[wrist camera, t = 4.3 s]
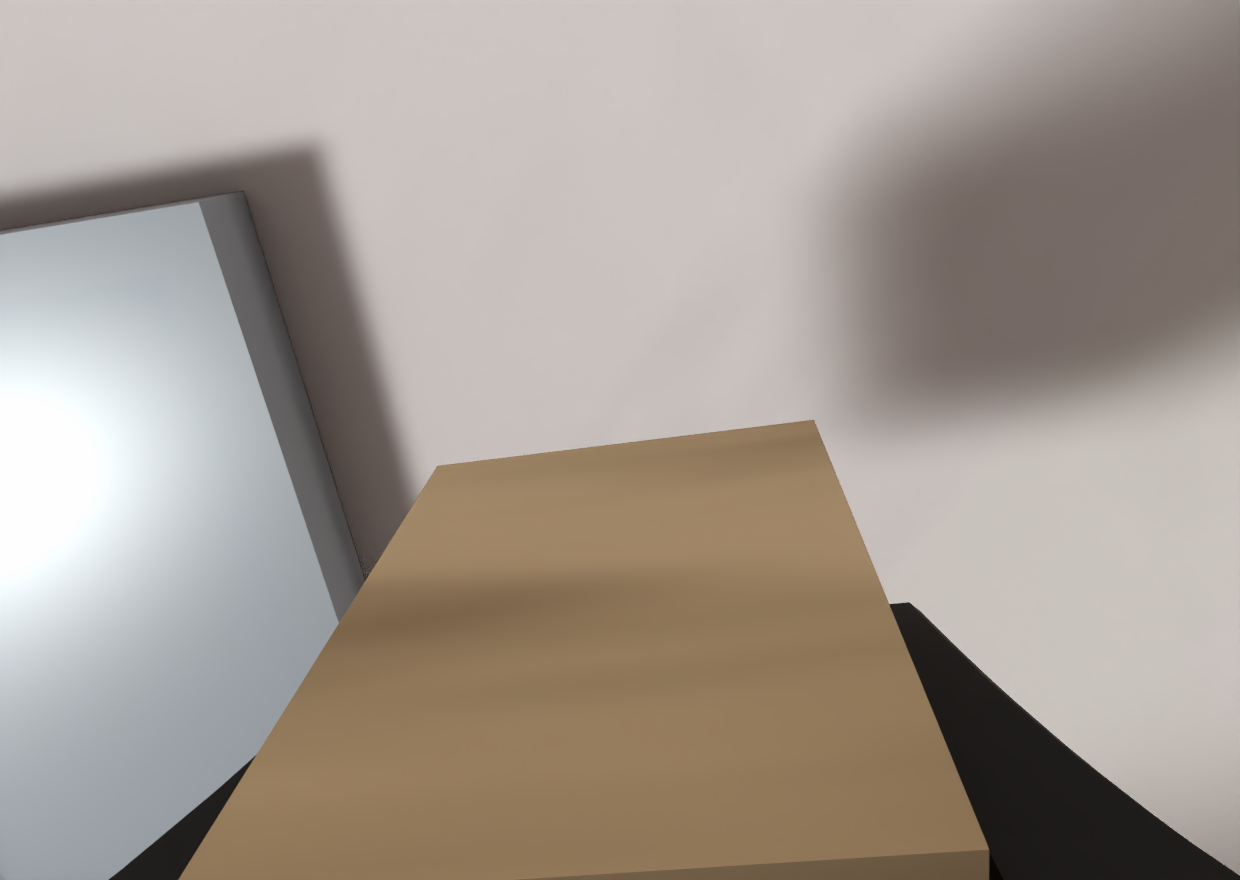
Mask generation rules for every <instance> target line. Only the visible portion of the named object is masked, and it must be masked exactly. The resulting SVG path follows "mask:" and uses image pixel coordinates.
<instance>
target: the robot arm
mask: <svg viewBox="0 0 1240 880" xmlns="http://www.w3.org/2000/svg"><path fill="white" fill-rule="evenodd" d="M889 605H890V608H891V610H892V613H893V615H894V617H895V620H896V622H897V625H898V627H899V630H900V632H901V635H902V637H903V640H904V642H905V644H906V647H907V649H908V652H909V654H910V657H911V659H912V662H913V664H914V666H915V669H916V671H917V674H918V676H919V679H920V681H921V684H922V686H923V688H924V691H925V693H926V696H927V698H928V701H929V703H930V706H931V708H932V711H933V713H934V715H935V718H936V720H937V723H938V725H939V728H940V730H941V733H942V735H943V737H944V740H945V742H946V745H947V747H948V750H949V752H950V755H951V757H952V759H953V762H954V764H955V767H956V769H957V772H958V774H959V777H960V779H961V782H962V784H963V786H964V789H965V791H966V794H967V796H968V799H969V801H970V804H971V806H972V808H973V811H974V813H975V816H976V818H977V821H978V823H979V826H980V828H981V831H982V833H983V835H984V838H985V840H986V843H987V845H988V848H989V880H1240V876H1239V875H1238V874H1236V873H1235V872H1233V871H1232V870H1230V869H1229V868H1228V867H1226V866H1225V865H1223V864H1222V863H1220V862H1219V861H1217V860H1216V859H1214V858H1213V857H1211V856H1210V855H1208V854H1207V853H1205V852H1204V851H1202V850H1201V849H1200V848H1198V847H1197V846H1195V845H1194V844H1192V843H1191V842H1189V841H1188V840H1187V839H1185V838H1184V837H1183V836H1181V835H1180V834H1178V833H1177V832H1176V831H1174V830H1173V829H1172V828H1170V827H1169V826H1168V825H1166V824H1165V823H1164V822H1162V821H1161V820H1160V819H1158V818H1157V817H1156V816H1154V815H1153V814H1152V813H1150V812H1149V811H1148V810H1146V809H1145V808H1144V807H1142V806H1141V805H1140V804H1139V803H1137V802H1136V801H1135V800H1133V799H1132V798H1131V797H1130V796H1128V795H1127V794H1126V793H1124V792H1123V791H1122V790H1121V789H1119V788H1118V787H1117V786H1116V785H1114V784H1113V783H1112V782H1110V781H1109V780H1108V779H1107V778H1105V777H1104V776H1103V775H1101V774H1100V773H1099V772H1098V771H1096V770H1095V769H1094V768H1093V767H1091V766H1090V765H1089V764H1088V763H1087V762H1085V761H1084V760H1083V759H1082V758H1081V757H1079V756H1078V755H1077V754H1076V753H1074V752H1073V751H1072V750H1071V749H1070V748H1068V747H1067V746H1066V745H1065V744H1064V743H1062V742H1061V741H1060V740H1059V739H1058V738H1057V737H1055V736H1054V735H1053V734H1052V733H1051V732H1050V731H1049V730H1047V729H1046V728H1045V727H1044V726H1043V725H1042V724H1040V723H1039V722H1038V721H1037V720H1036V719H1035V718H1033V717H1032V716H1031V715H1030V714H1029V713H1028V712H1027V711H1025V710H1024V709H1023V708H1022V707H1021V706H1020V705H1018V704H1017V703H1016V702H1015V701H1014V700H1013V699H1012V698H1011V697H1009V696H1008V695H1007V694H1006V693H1005V692H1004V691H1003V690H1002V689H1001V688H999V687H998V686H997V685H996V684H995V683H994V682H993V681H992V680H991V679H990V678H989V677H988V676H986V675H985V674H984V673H983V672H982V671H981V670H980V669H979V668H978V667H977V666H976V665H975V664H974V663H973V662H972V661H971V660H969V659H968V658H967V657H966V656H965V655H964V654H963V653H962V652H961V651H960V650H959V649H958V648H957V647H956V646H955V645H954V644H953V643H952V642H951V641H950V640H949V639H948V638H947V637H946V636H945V635H944V634H943V633H942V632H941V631H940V630H939V629H938V628H937V627H936V626H935V625H934V624H932V623H931V622H930V621H929V620H928V619H927V618H926V617H925V616H924V615H923V614H922V613H921V612H920V611H919V610H918V609H917V608H915V607H914V606H913V605H912V604H910V603H909V602H908V603H898V604H889ZM255 757H256V755H255V756H254V757H253V758H252V759H251V760H250V761H249V762H248V763H247V764H245V765H244V766H243V767H242V768H241V769H240V770H239V771H238V772H236V773H235V774H234V775H233V776H232V777H231V778H230V779H229V780H228V781H226V782H225V783H224V784H223V785H222V786H221V787H220V788H218V789H217V790H216V791H215V792H214V793H213V794H211V795H210V796H209V797H208V798H207V799H205V800H204V801H203V802H202V803H201V804H199V805H198V806H197V807H196V808H195V809H193V810H192V811H191V812H190V813H189V814H187V815H186V816H185V817H184V818H183V819H181V820H180V821H179V822H178V823H177V824H175V825H174V826H173V827H172V828H171V829H169V830H168V831H167V832H166V833H165V834H163V835H162V836H161V837H160V838H159V839H157V840H156V841H155V842H154V843H153V844H151V845H150V846H149V847H148V848H147V849H145V850H144V851H143V852H142V853H141V854H139V855H138V856H137V857H136V858H135V859H133V860H132V861H131V862H130V863H129V864H127V865H126V866H125V867H124V868H123V869H121V870H120V871H119V872H118V873H116V874H115V875H114V876H112V877H111V878H110V879H109V880H178V879H179V878H180V876H181V875H182V873H183V871H184V870H185V868H186V867H187V865H188V864H189V862H190V860H191V859H192V857H193V856H194V854H195V852H196V851H197V849H198V848H199V846H200V844H201V843H202V841H203V840H204V838H205V836H206V835H207V833H208V832H209V830H210V828H211V827H212V825H213V824H214V822H215V820H216V819H217V817H218V816H219V814H220V812H221V811H222V809H223V808H224V806H225V804H226V803H227V801H228V800H229V798H230V796H231V795H232V793H233V792H234V790H235V788H236V787H237V785H238V784H239V782H240V780H241V779H242V777H243V776H244V774H245V772H246V771H247V769H248V768H249V766H250V764H251V763H252V761H253V760H254V758H255Z"/></svg>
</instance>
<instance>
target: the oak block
mask: <svg viewBox="0 0 1240 880" xmlns="http://www.w3.org/2000/svg"><path fill="white" fill-rule="evenodd" d="M178 880H989V848H988V845H987V843H986V840H985V838H984V835H983V833H982V831H981V828H980V826H979V823H978V821H977V818H976V816H975V813H974V811H973V808H972V806H971V804H970V801H969V799H968V796H967V794H966V791H965V789H964V786H963V784H962V782H961V779H960V777H959V774H958V772H957V769H956V767H955V764H954V762H953V759H952V757H951V755H950V752H949V750H948V747H947V745H946V742H945V740H944V737H943V735H942V733H941V730H940V728H939V725H938V723H937V720H936V718H935V715H934V713H933V711H932V708H931V706H930V703H929V701H928V698H927V696H926V693H925V691H924V688H923V686H922V684H921V681H920V679H919V676H918V674H917V671H916V669H915V666H914V664H913V662H912V659H911V657H910V654H909V652H908V649H907V647H906V644H905V642H904V640H903V637H902V635H901V632H900V630H899V627H898V625H897V622H896V620H895V617H894V615H893V613H892V610H891V608H890V605H889V603H888V600H887V598H886V595H885V593H884V591H883V588H882V586H881V583H880V581H879V578H878V576H877V573H876V571H875V568H874V566H873V564H872V561H871V559H870V556H869V554H868V551H867V549H866V546H865V544H864V542H863V539H862V537H861V534H860V532H859V529H858V527H857V524H856V522H855V520H854V517H853V515H852V512H851V510H850V507H849V505H848V502H847V500H846V497H845V495H844V493H843V490H842V488H841V485H840V483H839V480H838V478H837V475H836V473H835V471H834V468H833V466H832V463H831V461H830V458H829V456H828V453H827V451H826V449H825V446H824V444H823V441H822V439H821V436H820V434H819V431H818V429H817V426H816V424H815V422H814V420H809V421H801V422H793V423H785V424H777V425H768V426H760V427H752V428H744V429H736V430H728V431H719V432H711V433H703V434H695V435H687V436H678V437H670V438H662V439H654V440H646V441H638V442H629V443H621V444H613V445H605V446H597V447H588V448H580V449H572V450H564V451H556V452H548V453H539V454H531V455H523V456H515V457H507V458H498V459H490V460H482V461H474V462H466V463H458V464H449V465H441V466H437V467H436V469H435V471H434V472H433V474H432V475H431V477H430V479H429V480H428V482H427V483H426V485H425V487H424V488H423V490H422V491H421V493H420V495H419V496H418V498H417V499H416V501H415V503H414V504H413V506H412V507H411V509H410V511H409V512H408V514H407V515H406V517H405V519H404V520H403V522H402V523H401V525H400V527H399V528H398V530H397V531H396V533H395V535H394V536H393V538H392V539H391V541H390V542H389V544H388V546H387V547H386V549H385V550H384V552H383V554H382V555H381V557H380V558H379V560H378V562H377V563H376V565H375V566H374V568H373V570H372V571H371V573H370V574H369V576H368V578H367V579H366V581H365V582H364V584H363V586H362V587H361V589H360V590H359V592H358V594H357V595H356V597H355V598H354V600H353V602H352V603H351V605H350V606H349V608H348V610H347V611H346V613H345V614H344V616H343V618H342V619H341V621H340V622H339V624H338V626H337V627H336V629H335V630H334V632H333V634H332V635H331V637H330V638H329V640H328V642H327V643H326V645H325V646H324V648H323V649H322V651H321V653H320V654H319V656H318V657H317V659H316V661H315V662H314V664H313V665H312V667H311V669H310V670H309V672H308V673H307V675H306V677H305V678H304V680H303V681H302V683H301V685H300V686H299V688H298V689H297V691H296V693H295V694H294V696H293V697H292V699H291V701H290V702H289V704H288V705H287V707H286V709H285V710H284V712H283V713H282V715H281V717H280V718H279V720H278V721H277V723H276V725H275V726H274V728H273V729H272V731H271V733H270V734H269V736H268V737H267V739H266V741H265V742H264V744H263V745H262V747H261V749H260V750H259V752H258V753H257V755H256V757H255V758H254V760H253V761H252V763H251V764H250V766H249V768H248V769H247V771H246V772H245V774H244V776H243V777H242V779H241V780H240V782H239V784H238V785H237V787H236V788H235V790H234V792H233V793H232V795H231V796H230V798H229V800H228V801H227V803H226V804H225V806H224V808H223V809H222V811H221V812H220V814H219V816H218V817H217V819H216V820H215V822H214V824H213V825H212V827H211V828H210V830H209V832H208V833H207V835H206V836H205V838H204V840H203V841H202V843H201V844H200V846H199V848H198V849H197V851H196V852H195V854H194V856H193V857H192V859H191V860H190V862H189V864H188V865H187V867H186V868H185V870H184V871H183V873H182V875H181V876H180V878H179V879H178Z"/></svg>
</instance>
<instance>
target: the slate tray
mask: <svg viewBox="0 0 1240 880" xmlns="http://www.w3.org/2000/svg"><path fill="white" fill-rule="evenodd" d="M364 582H365V579H364V576H363V572H362V569H361V566H360V563H359V560H358V556H357V553H356V550H355V547H354V544H353V540H352V537H351V534H350V531H349V528H348V525H347V521H346V518H345V515H344V512H343V509H342V505H341V502H340V499H339V496H338V493H337V489H336V486H335V483H334V480H333V477H332V473H331V470H330V467H329V464H328V461H327V457H326V454H325V451H324V448H323V445H322V441H321V438H320V435H319V432H318V429H317V425H316V422H315V419H314V416H313V413H312V409H311V406H310V403H309V400H308V397H307V393H306V390H305V387H304V384H303V381H302V377H301V374H300V371H299V368H298V365H297V361H296V358H295V355H294V352H293V349H292V345H291V342H290V339H289V336H288V333H287V329H286V326H285V323H284V320H283V317H282V313H281V310H280V307H279V304H278V301H277V297H276V294H275V291H274V288H273V285H272V281H271V278H270V275H269V272H268V269H267V265H266V262H265V259H264V256H263V253H262V249H261V246H260V243H259V240H258V237H257V234H256V230H255V227H254V224H253V221H252V218H251V214H250V211H249V208H248V205H247V202H246V198H245V195H244V192H243V191H239V192H233V193H227V194H221V195H214V196H208V197H202V198H196V199H190V200H184V201H178V202H172V203H166V204H160V205H154V206H148V207H142V208H136V209H130V210H124V211H118V212H111V213H105V214H99V215H93V216H87V217H81V218H75V219H69V220H63V221H57V222H51V223H45V224H39V225H33V226H27V227H21V228H15V229H8V230H2V231H0V880H109V879H110V878H111V877H112V876H114V875H115V874H116V873H118V872H119V871H120V870H121V869H123V868H124V867H125V866H126V865H127V864H129V863H130V862H131V861H132V860H133V859H135V858H136V857H137V856H138V855H139V854H141V853H142V852H143V851H144V850H145V849H147V848H148V847H149V846H150V845H151V844H153V843H154V842H155V841H156V840H157V839H159V838H160V837H161V836H162V835H163V834H165V833H166V832H167V831H168V830H169V829H171V828H172V827H173V826H174V825H175V824H177V823H178V822H179V821H180V820H181V819H183V818H184V817H185V816H186V815H187V814H189V813H190V812H191V811H192V810H193V809H195V808H196V807H197V806H198V805H199V804H201V803H202V802H203V801H204V800H205V799H207V798H208V797H209V796H210V795H211V794H213V793H214V792H215V791H216V790H217V789H218V788H220V787H221V786H222V785H223V784H224V783H225V782H226V781H228V780H229V779H230V778H231V777H232V776H233V775H234V774H235V773H236V772H238V771H239V770H240V769H241V768H242V767H243V766H244V765H245V764H247V763H248V762H249V761H250V760H251V759H252V758H253V757H254V756H255V755H257V753H258V752H259V750H260V749H261V747H262V745H263V744H264V742H265V741H266V739H267V737H268V736H269V734H270V733H271V731H272V729H273V728H274V726H275V725H276V723H277V721H278V720H279V718H280V717H281V715H282V713H283V712H284V710H285V709H286V707H287V705H288V704H289V702H290V701H291V699H292V697H293V696H294V694H295V693H296V691H297V689H298V688H299V686H300V685H301V683H302V681H303V680H304V678H305V677H306V675H307V673H308V672H309V670H310V669H311V667H312V665H313V664H314V662H315V661H316V659H317V657H318V656H319V654H320V653H321V651H322V649H323V648H324V646H325V645H326V643H327V642H328V640H329V638H330V637H331V635H332V634H333V632H334V630H335V629H336V627H337V626H338V624H339V622H340V621H341V619H342V618H343V616H344V614H345V613H346V611H347V610H348V608H349V606H350V605H351V603H352V602H353V600H354V598H355V597H356V595H357V594H358V592H359V590H360V589H361V587H362V586H363V584H364Z"/></svg>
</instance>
